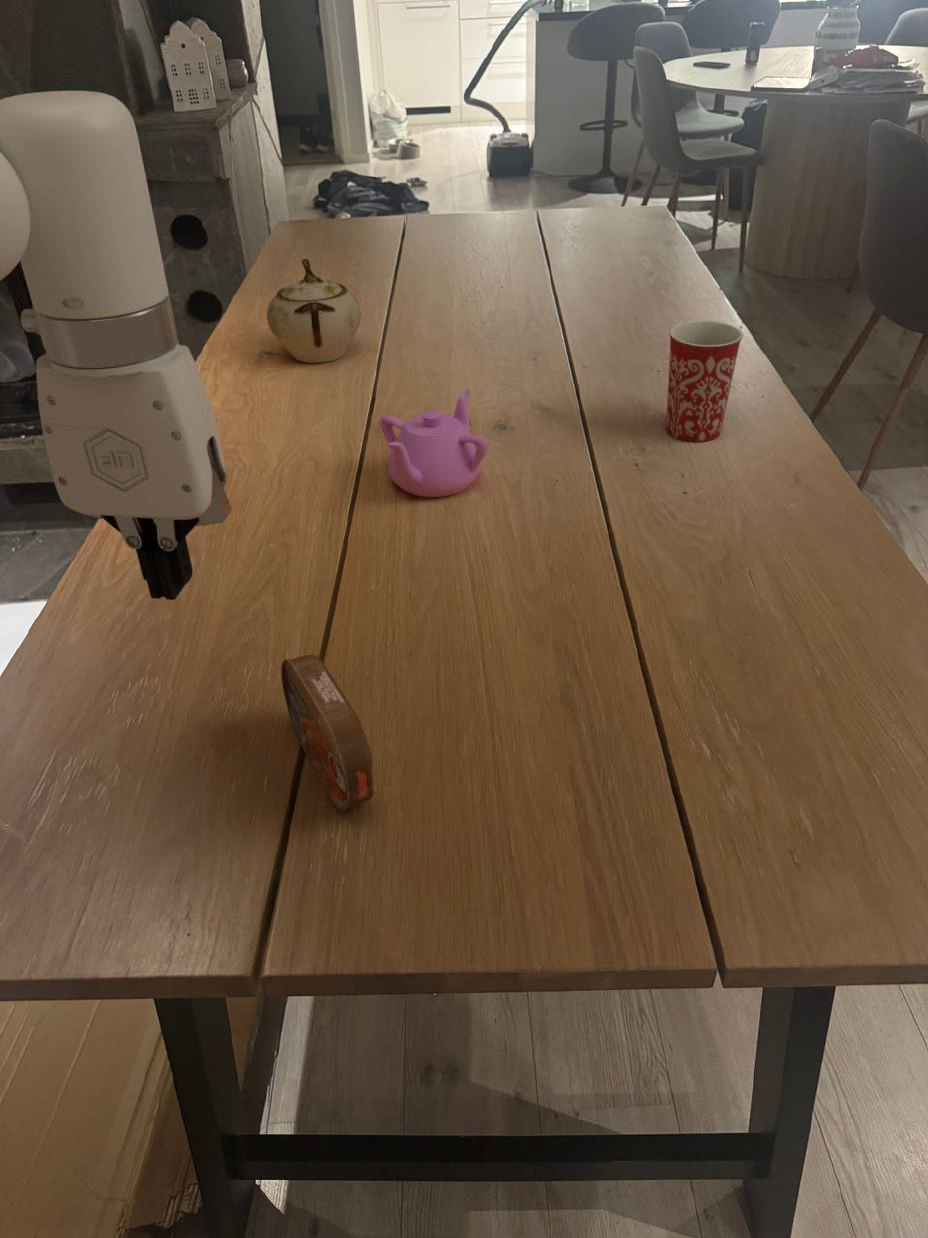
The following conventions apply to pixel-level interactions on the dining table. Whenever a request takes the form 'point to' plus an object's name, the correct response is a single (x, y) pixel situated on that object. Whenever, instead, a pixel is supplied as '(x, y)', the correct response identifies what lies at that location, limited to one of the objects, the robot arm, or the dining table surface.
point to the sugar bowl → (314, 318)
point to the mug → (700, 378)
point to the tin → (328, 731)
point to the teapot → (434, 451)
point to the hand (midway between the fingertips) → (171, 588)
